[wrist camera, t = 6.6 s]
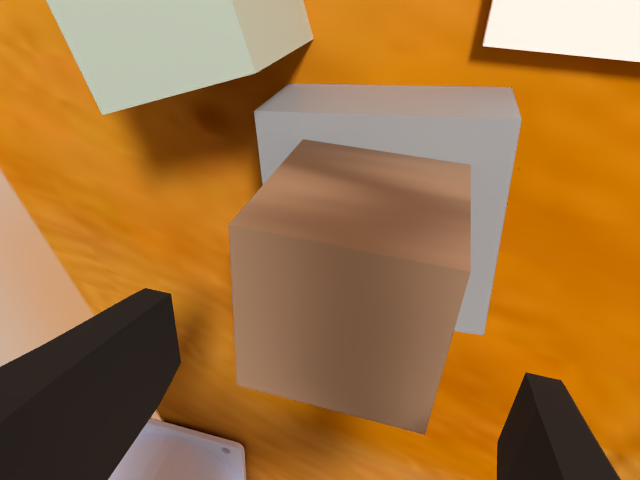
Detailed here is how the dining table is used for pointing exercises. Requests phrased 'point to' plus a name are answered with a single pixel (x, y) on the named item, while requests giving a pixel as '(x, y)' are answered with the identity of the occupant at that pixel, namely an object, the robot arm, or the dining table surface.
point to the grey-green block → (175, 43)
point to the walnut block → (351, 280)
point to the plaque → (566, 27)
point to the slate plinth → (412, 149)
